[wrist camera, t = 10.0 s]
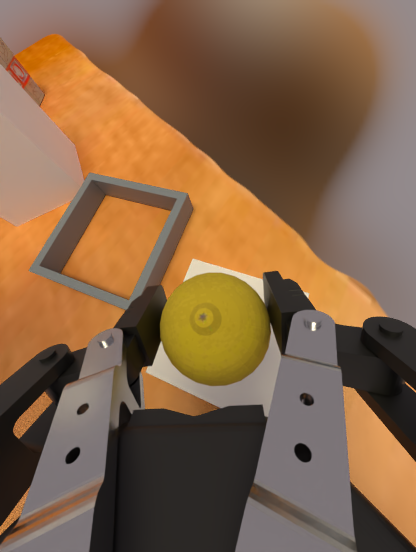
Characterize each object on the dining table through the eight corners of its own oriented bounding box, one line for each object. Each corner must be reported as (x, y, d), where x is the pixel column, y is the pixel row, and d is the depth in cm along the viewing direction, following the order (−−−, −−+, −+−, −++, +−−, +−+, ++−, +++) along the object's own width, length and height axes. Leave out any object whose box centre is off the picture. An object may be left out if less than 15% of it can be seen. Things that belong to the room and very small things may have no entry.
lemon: (235, 280, 16) (230, 222, 8) (278, 348, 14) (323, 351, 6) (173, 316, 16) (109, 290, 8) (207, 389, 14) (166, 445, 6)
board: (149, 370, 22) (145, 372, 21) (194, 261, 25) (192, 258, 24) (272, 429, 18) (274, 434, 17) (306, 295, 22) (309, 293, 21)
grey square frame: (50, 278, 27) (28, 270, 24) (103, 188, 31) (89, 172, 28) (145, 316, 24) (132, 312, 21) (193, 208, 27) (187, 193, 24)
